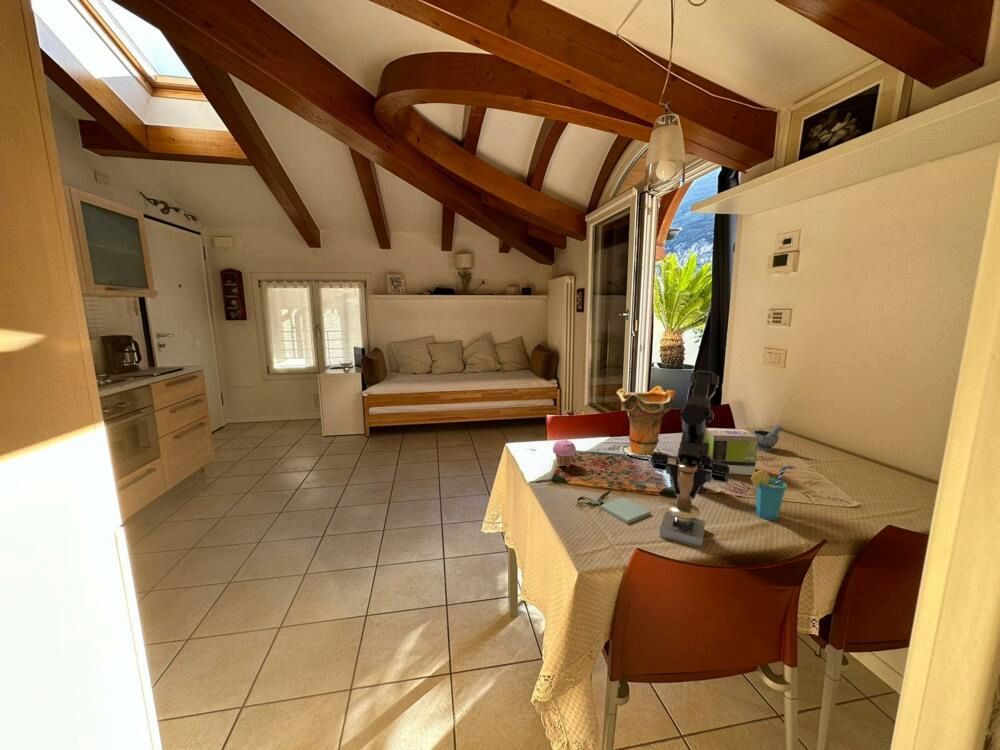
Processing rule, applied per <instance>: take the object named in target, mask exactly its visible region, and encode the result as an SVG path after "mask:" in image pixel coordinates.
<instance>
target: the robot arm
mask: <svg viewBox="0 0 1000 750" xmlns="http://www.w3.org/2000/svg"><path fill="white" fill-rule="evenodd" d="M719 381H720V376H719V375H718V374H716V373H714V372H713V371H709V370H696V371H694V372H690V380H689V385H690V386H691V391H692V395H691V397H689V398H688V399H686V401H685V405H683V406H682V408H681V411H680V413H679V417H680V418H679V419H681V429H682V433H681V440H680V442H679V447H678V451H677V459H675V458H670V457H669V454H668V453H665V452H663V453H660V452H654V453H652V457H651V460H650V462H651V467H652V469H655V470H659V471H666V474H667V475H670V477H671V480H672V483H673V488H674V489H673V490H674V495H675V496H677V494H678V483H679V469H678V463H680V462H688V463H692V464H695V465H697V466H698V469H697V472H695V477H694V487H693V494H692V500H694V499H695V498H696V497H697V494H698V493H699V492H708V489H707V488H706V487H705V486H704V485H705V484H706V483H711V479H712V480H713V481H714V482H715V481H717V482H720V483H728V481H729V475H730V474H729V466H728V465H727V464H722V463H716V462H712V461H711V460H710V456H708V450H709V443H704V439H705V431H706V428H707V425H708V424H709V423H711V422H712V421H714V416H715V413H714V412H713V410H712V409H710V407H711V402H710V399H711V398H712V397H713V396H714V395H716V388H719V383H720V382H719ZM711 466H712V467H711Z"/></svg>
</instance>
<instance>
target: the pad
mask: <svg viewBox="0 0 1000 750" xmlns="http://www.w3.org/2000/svg"><path fill="white" fill-rule="evenodd" d="M599 508H600V510H601V511H603V512H605V513H607V514H608V515H610V516H612V517H614V518H616V519H618V520H619V521H621V522H623V523H624V524H626V525H628V524H631V523H633V522H635V521H638V520H641V519H643V518H645V517H648V516H650V515H651V513H652V511H651V510H649V509H647V508H645V507H643V506H641V505H640V504H638V503H635V501H631V500H630V499H628V498H625V497H619V498H617V499H614V500H611V501H610V502H605V503H603V504H600V507H599Z"/></svg>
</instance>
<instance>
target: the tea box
mask: <svg viewBox="0 0 1000 750" xmlns="http://www.w3.org/2000/svg"><path fill="white" fill-rule="evenodd" d="M704 443H709V450H708V456H710V460H711V461H712V462H716V463H722V464H727V465H728V466H729V475H744V476H745V475H747V476H752V475H753V474H754V472H756V464H757V455H758V449H757V444H758V437H757V436H755V435H754V434H752V432H750V431H749V430H747V429H745V428H725V427H724V428H722V427H721V428H719V427H718V428H717V427H706V431H705V439H704ZM711 467H712V466H711Z"/></svg>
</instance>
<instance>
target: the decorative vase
mask: <svg viewBox="0 0 1000 750" xmlns="http://www.w3.org/2000/svg"><path fill="white" fill-rule="evenodd" d="M676 394H677V392H676V391H675V390H671V389H669V390H664V389H663V388H662V386H660V385H657V386H654V387H653V388H652V389H651V390H650V391H645V392H643V391H642V392H640V391H639V392H635V391H634V392H633V391H632V392H626V390H625V389H624V388H619V389H617V391H616V395H617V396H618V398H619V402H620V405H621V407H622V410H623V411H625V412H628V414H629V415H628V416H629V417H628V418H629V435H628V439H629V444H630V445H624V446H621V447H619V448H620V451H621V453H622V454H624V453H625V454H624V455H626V454H629V455H631V454H633V453H634V454H638V455H645V456H646V455H650V456H652V453H654V452H660V453H664V452H663V451H662V450H660V449H659V448H657V446H658V443H659V441H660V440H659V436H660V431H661V423H662V418H663V417H664V415H665V414H666V413H667V412H669V411H670V410H671V408H672V406H673V402H674V397H675V395H676Z"/></svg>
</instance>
